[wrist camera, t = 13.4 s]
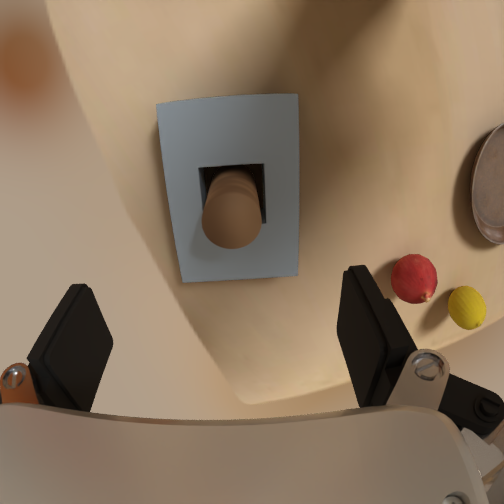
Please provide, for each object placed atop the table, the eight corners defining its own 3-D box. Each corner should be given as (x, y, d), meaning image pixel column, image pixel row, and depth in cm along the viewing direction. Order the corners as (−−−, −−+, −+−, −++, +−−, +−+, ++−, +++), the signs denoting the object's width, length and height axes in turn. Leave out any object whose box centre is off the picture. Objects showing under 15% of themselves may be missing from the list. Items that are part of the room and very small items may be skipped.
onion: (425, 243, 36) (457, 277, 29) (414, 280, 39) (440, 318, 32) (387, 242, 36) (416, 279, 29) (377, 281, 39) (401, 322, 32)
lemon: (462, 302, 42) (487, 334, 35) (435, 308, 42) (459, 343, 35) (471, 273, 39) (499, 305, 32) (444, 278, 39) (472, 313, 32)
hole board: (290, 93, 28) (298, 93, 24) (292, 256, 36) (297, 275, 33) (166, 102, 28) (156, 104, 24) (187, 262, 36) (182, 282, 33)
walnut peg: (254, 160, 31) (260, 192, 22) (256, 201, 33) (262, 247, 24) (209, 164, 31) (198, 196, 22) (213, 204, 33) (205, 250, 24)
